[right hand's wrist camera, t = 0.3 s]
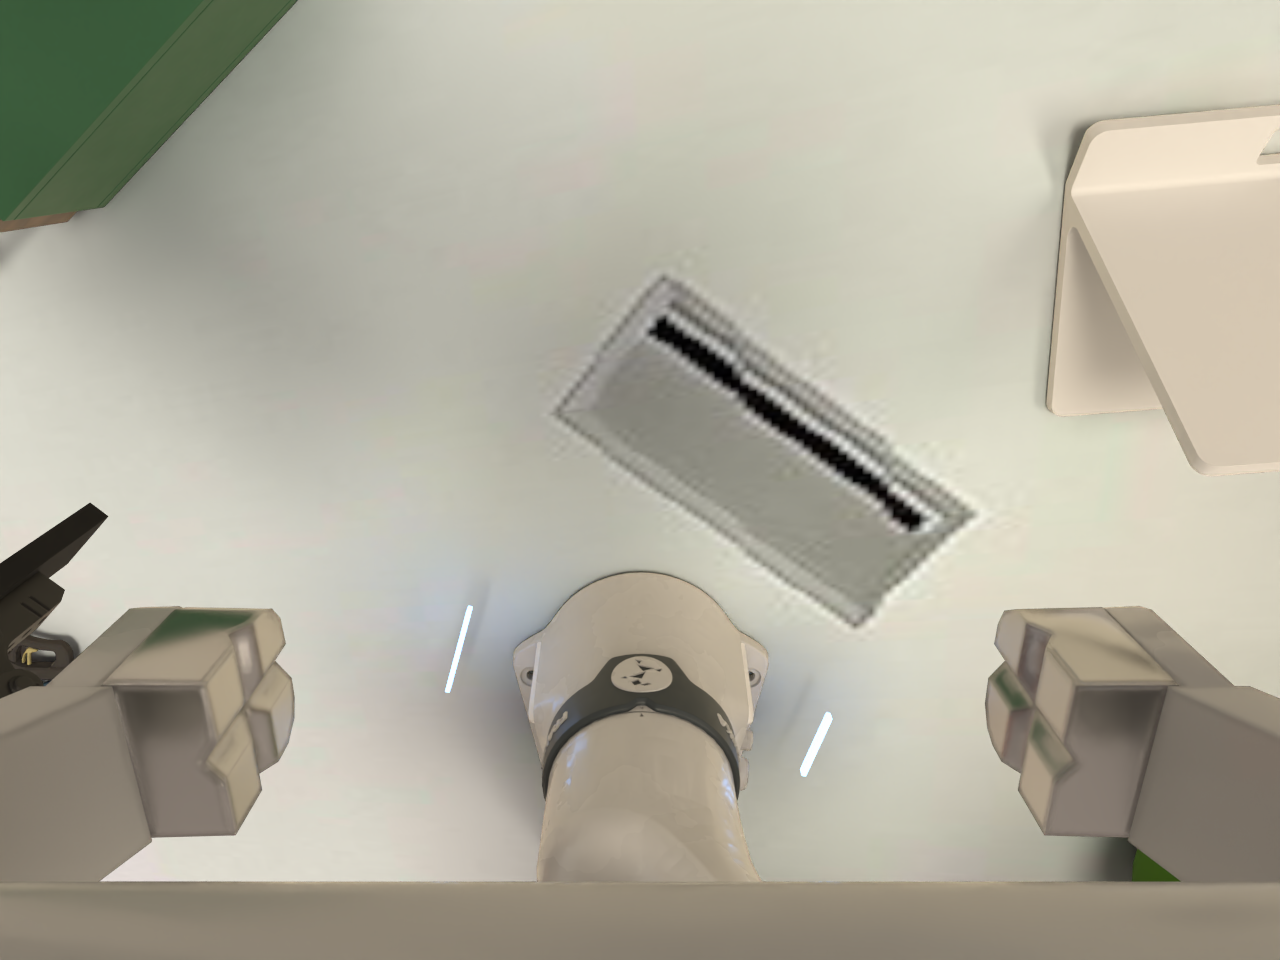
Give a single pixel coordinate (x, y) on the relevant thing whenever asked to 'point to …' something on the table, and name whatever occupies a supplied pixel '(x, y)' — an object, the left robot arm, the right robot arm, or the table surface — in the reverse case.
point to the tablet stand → (1175, 282)
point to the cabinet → (106, 89)
